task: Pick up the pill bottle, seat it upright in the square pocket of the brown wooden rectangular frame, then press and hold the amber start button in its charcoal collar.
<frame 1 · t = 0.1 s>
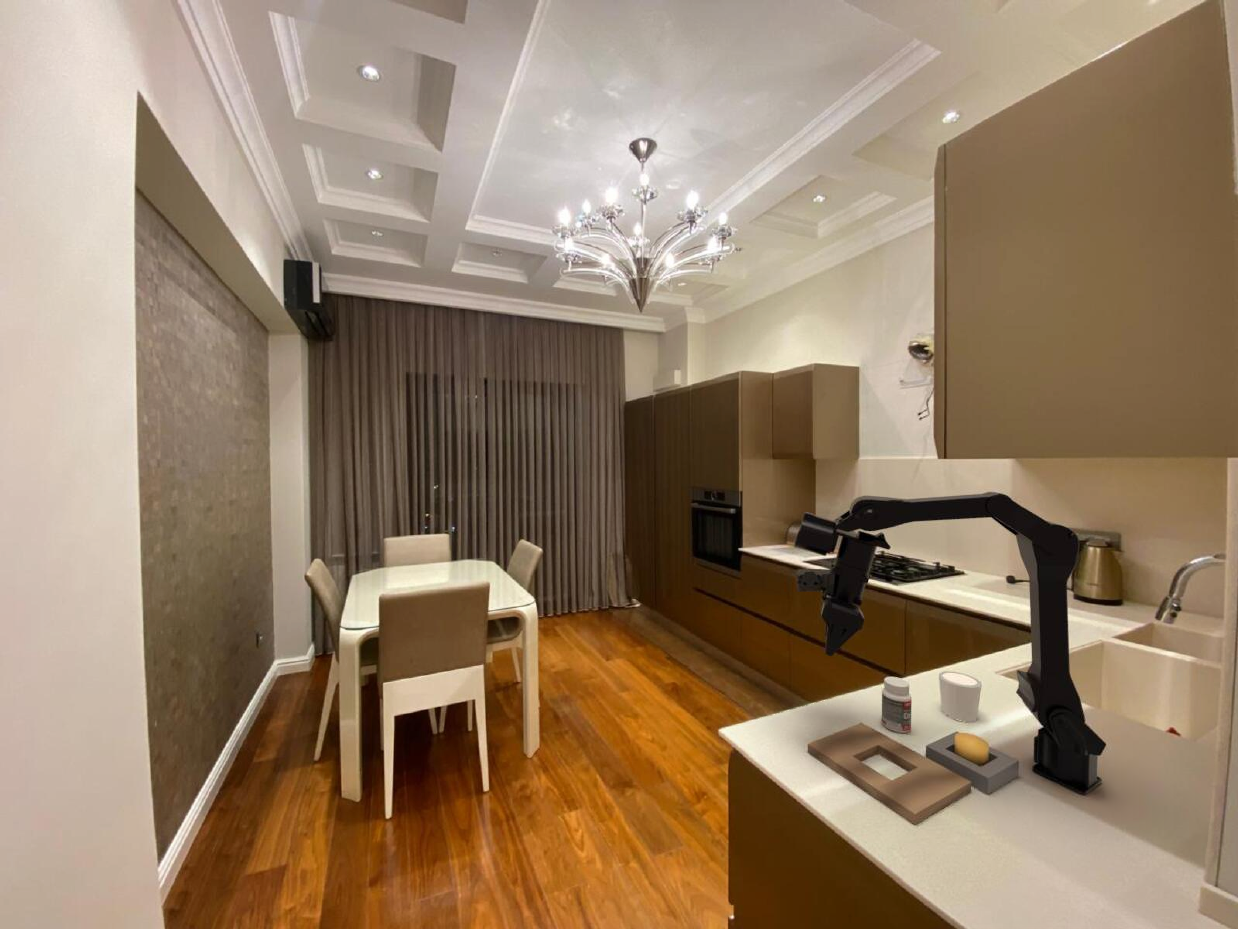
hand: (828, 645, 89), 15 cm above the worktop, tool pointing down, fingers open, 9 cm apart
pill bottle: (896, 727, 90), on the worktop
button collar: (970, 768, 78), on the worktop
start button: (971, 748, 78), point 3 cm above the worktop, slide at 0.0 cm
white cup: (958, 715, 94), on the worktop
brown wooden rectangular frame: (884, 771, 77), on the worktop
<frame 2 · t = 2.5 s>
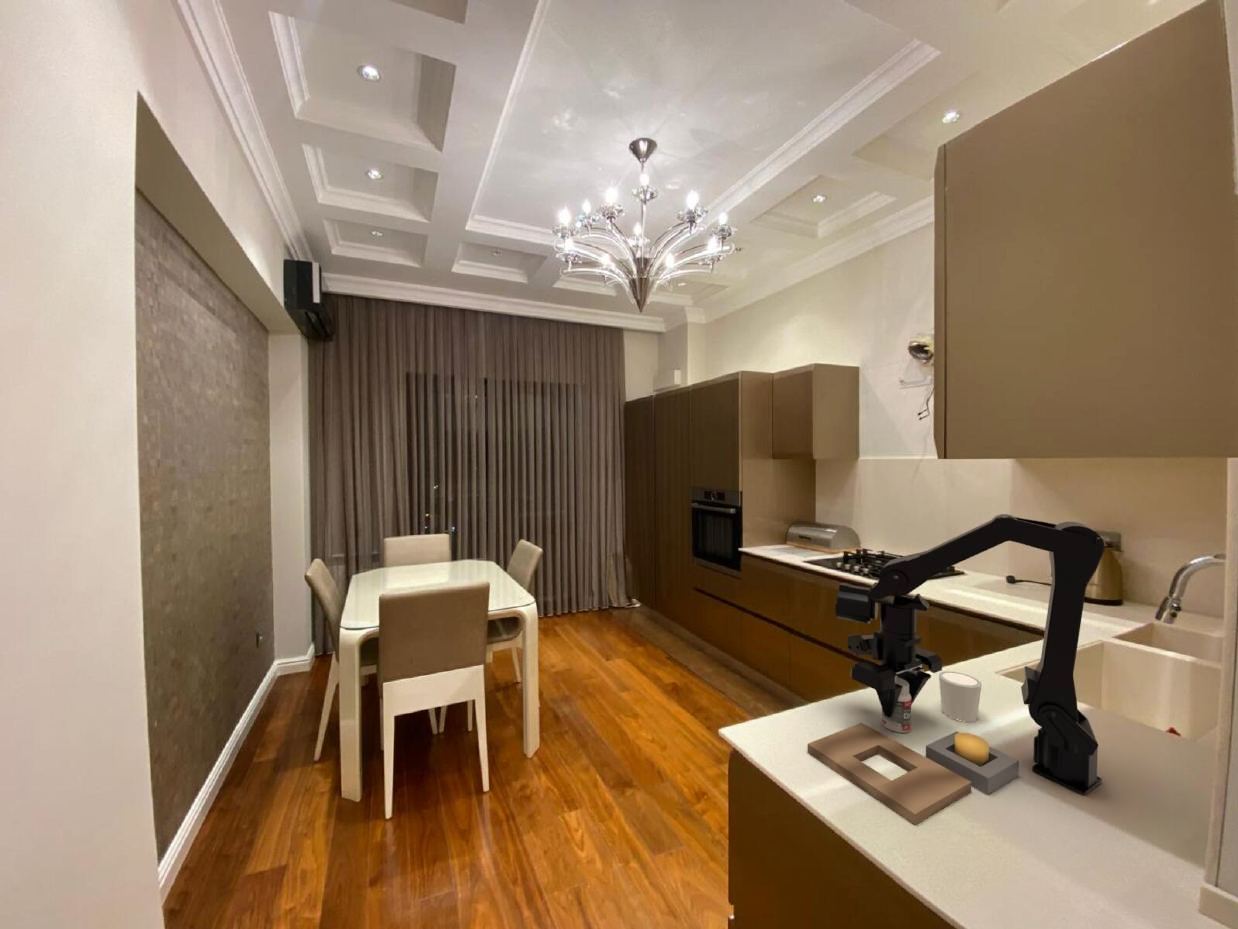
hand: (896, 712, 90), 3 cm above the worktop, tool pointing down, fingers closed on pill bottle, 5 cm apart
pill bottle: (895, 727, 90), on the worktop, touching gripper
everything else where it was.
when the fingers open (3 cm above the worktop, at t = 7.2 s): pill bottle stays where it is, resting in brown wooden rectangular frame.
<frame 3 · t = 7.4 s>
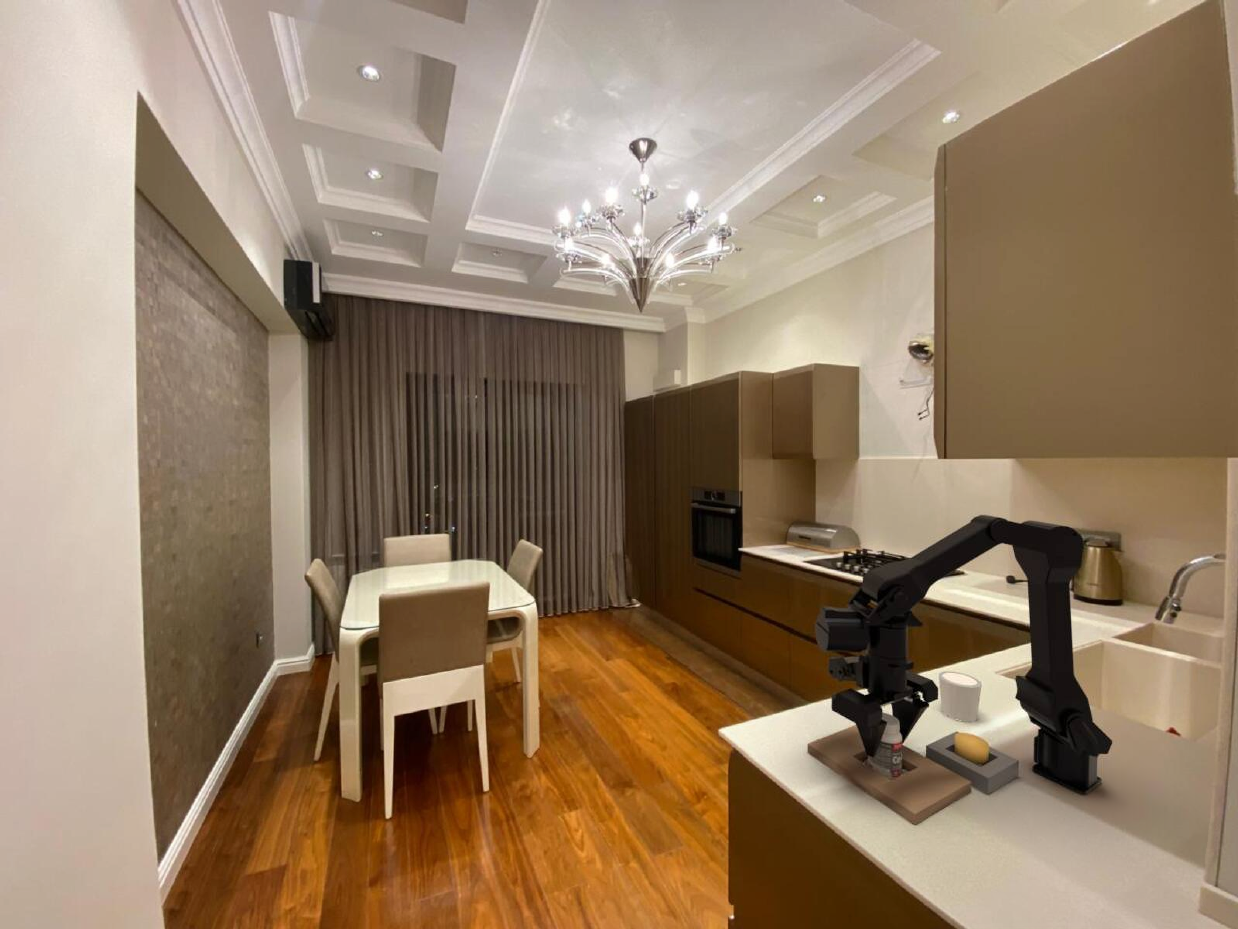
hand: (884, 749, 77), 3 cm above the worktop, tool pointing down, fingers open, 7 cm apart
pill bottle: (884, 772, 77), resting in brown wooden rectangular frame
everything else where it was.
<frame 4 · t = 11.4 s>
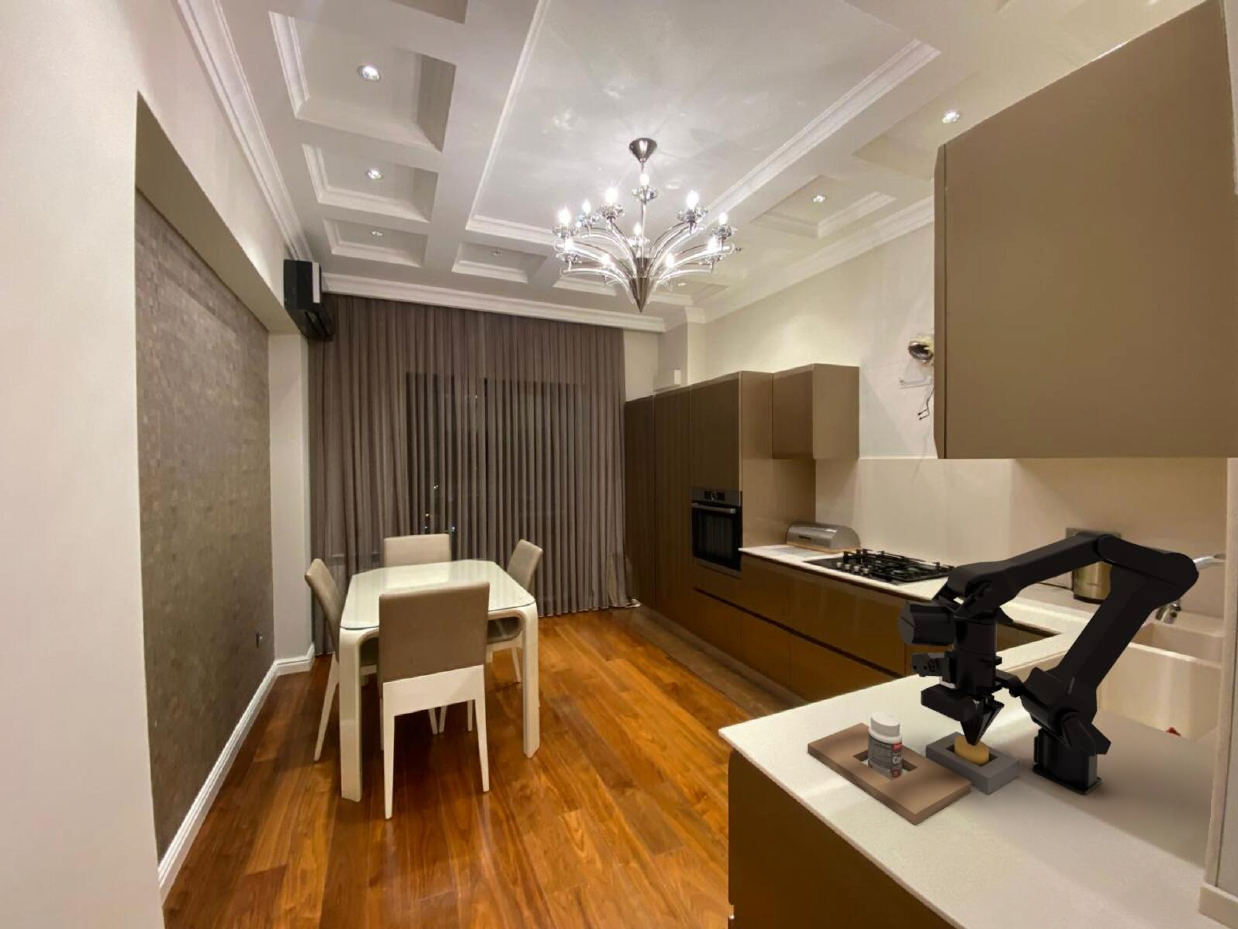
hand: (971, 744, 78), 4 cm above the worktop, tool pointing down, fingers closed, pressing on start button
start button: (971, 751, 78), point 3 cm above the worktop, slide at 0.5 cm, touching gripper
everything else where it was.
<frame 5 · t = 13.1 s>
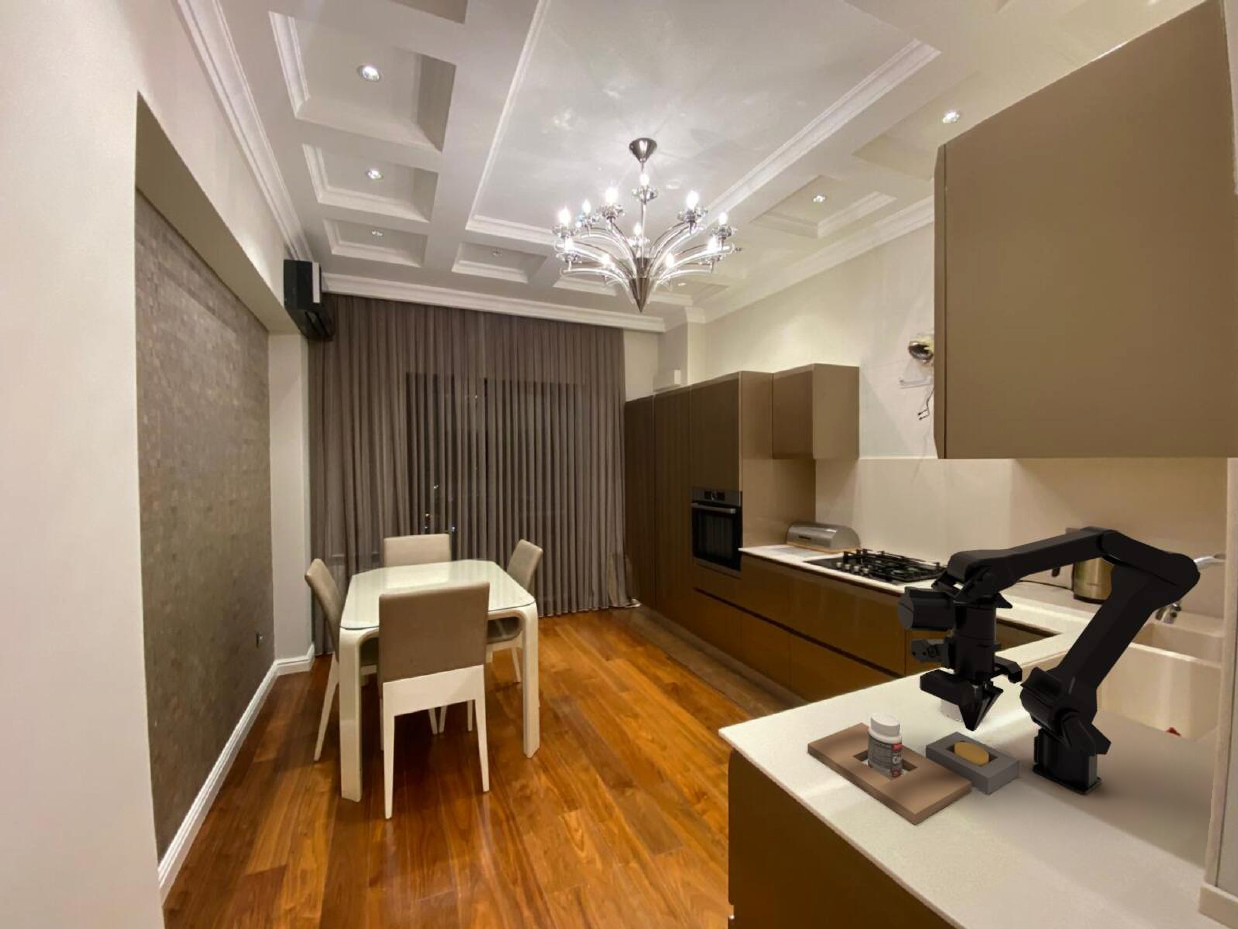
hand: (970, 729, 78), 6 cm above the worktop, tool pointing down, fingers closed
start button: (971, 758, 78), point 2 cm above the worktop, slide at 1.6 cm
everything else where it was.
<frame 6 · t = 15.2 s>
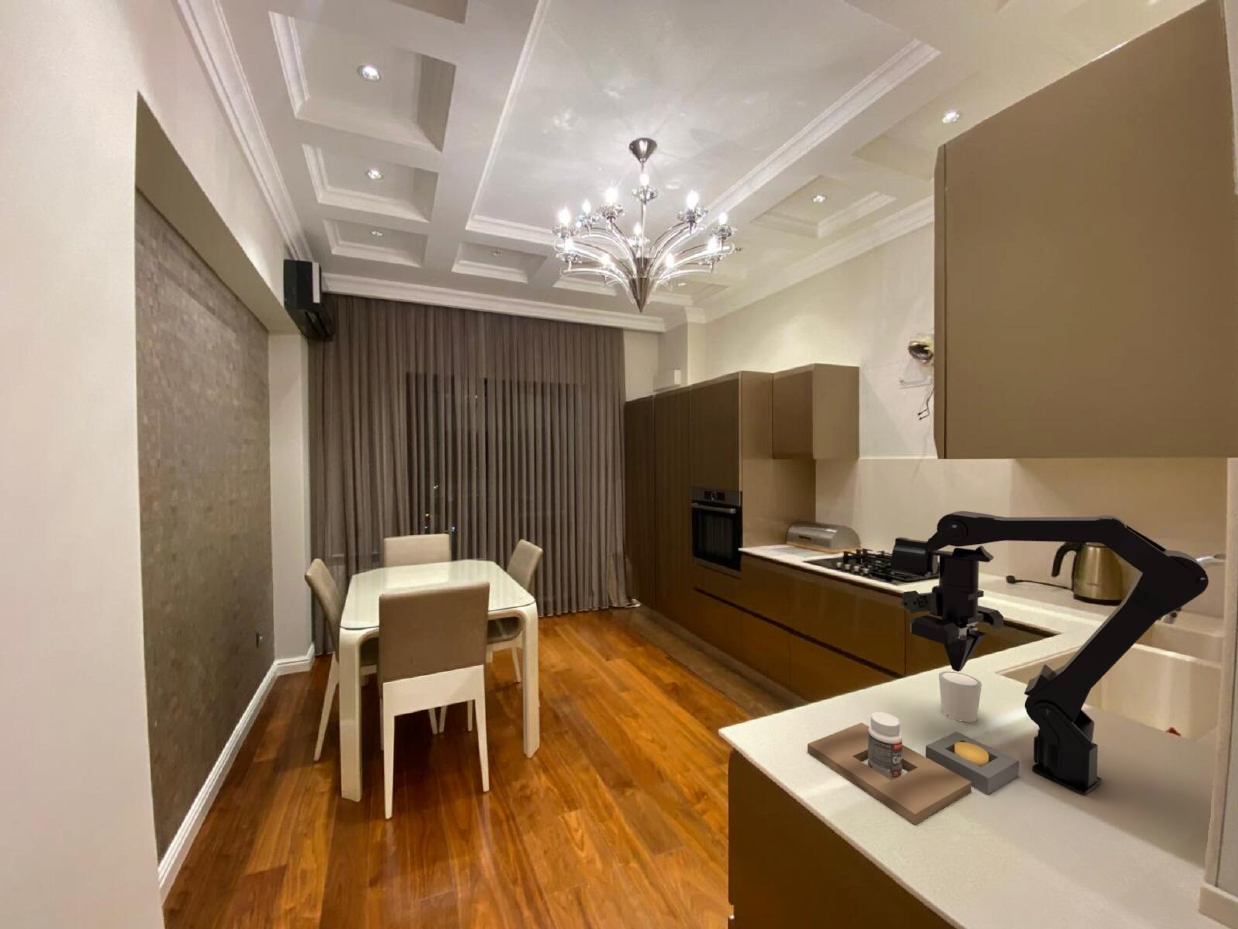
hand: (956, 670, 86), 12 cm above the worktop, tool pointing down, fingers closed
nothing on the worktop moved.
at the end: pill bottle 0.1 cm off-centre on the brown wooden rectangular frame, point 0.0 cm above the brown wooden rectangular frame's base; pill bottle tilted 0°; start button slide at 1.6 cm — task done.
